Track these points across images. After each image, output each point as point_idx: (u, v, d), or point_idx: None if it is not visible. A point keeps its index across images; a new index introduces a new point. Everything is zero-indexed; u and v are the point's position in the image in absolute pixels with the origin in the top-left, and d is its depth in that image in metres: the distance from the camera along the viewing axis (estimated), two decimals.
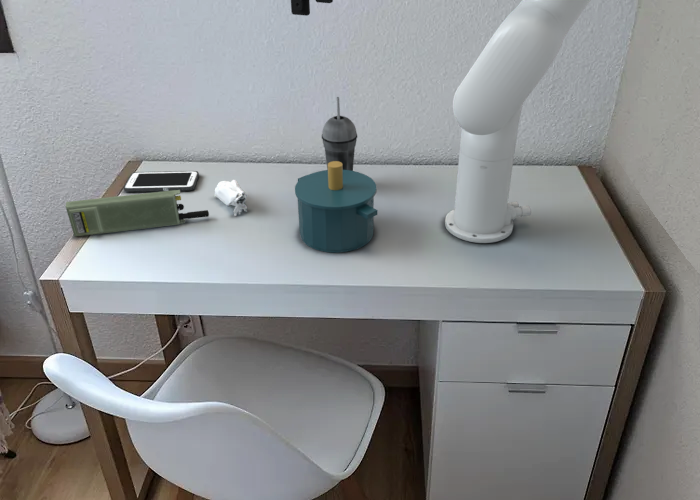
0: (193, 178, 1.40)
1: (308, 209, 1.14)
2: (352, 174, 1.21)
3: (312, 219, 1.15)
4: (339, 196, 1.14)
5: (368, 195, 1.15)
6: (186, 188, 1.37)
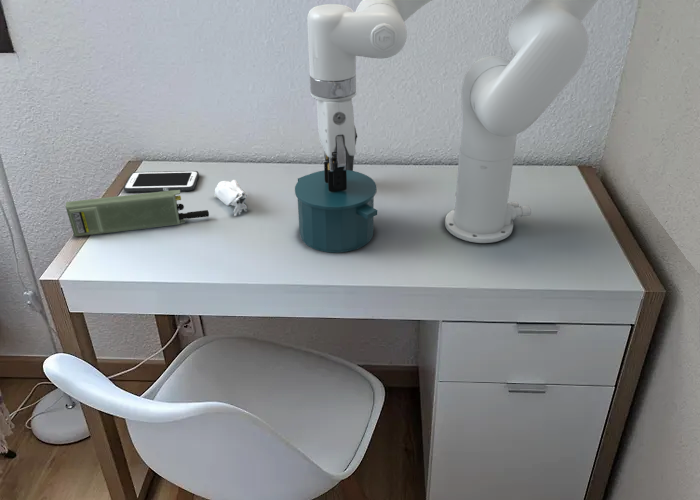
0: (193, 178, 1.40)
1: (308, 209, 1.14)
2: (352, 174, 1.21)
3: (312, 219, 1.15)
4: (339, 196, 1.14)
5: (368, 195, 1.15)
6: (186, 188, 1.37)
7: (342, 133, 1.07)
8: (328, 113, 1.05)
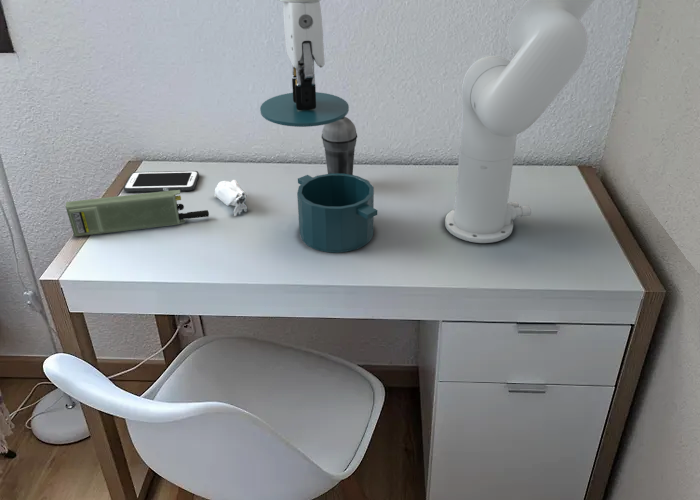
0: (193, 178, 1.40)
1: (308, 209, 1.14)
2: (323, 96, 1.13)
3: (312, 219, 1.15)
4: (307, 114, 1.05)
5: (339, 113, 1.06)
6: (186, 188, 1.37)
7: (309, 39, 0.98)
8: (293, 15, 0.96)
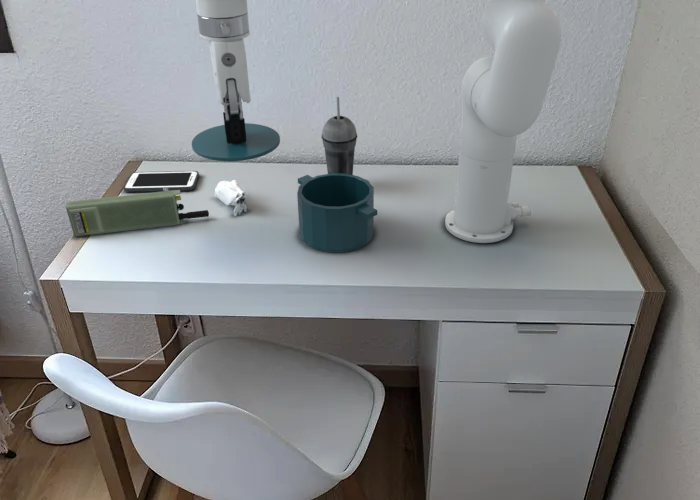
0: (193, 178, 1.40)
1: (308, 209, 1.14)
2: (257, 128, 1.14)
3: (312, 219, 1.15)
4: (237, 148, 1.07)
5: (268, 147, 1.07)
6: (186, 188, 1.37)
7: (233, 76, 0.99)
8: (216, 53, 0.97)
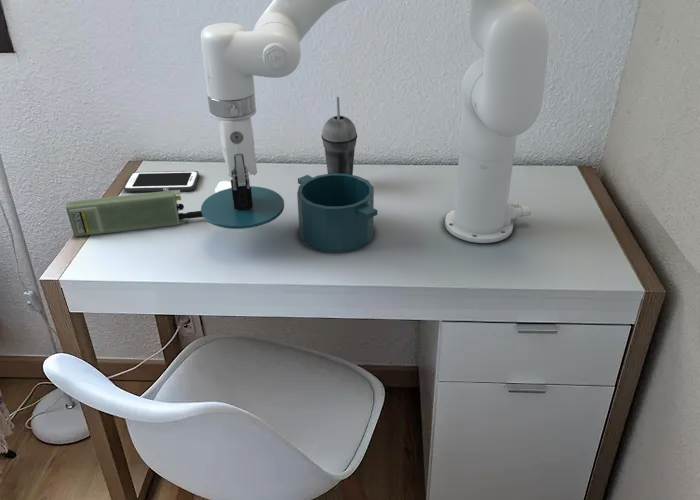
0: (193, 178, 1.40)
1: (308, 209, 1.14)
2: (262, 192, 1.20)
3: (312, 219, 1.15)
4: (244, 214, 1.13)
5: (273, 214, 1.14)
6: (186, 188, 1.37)
7: (240, 152, 1.06)
8: (225, 132, 1.04)
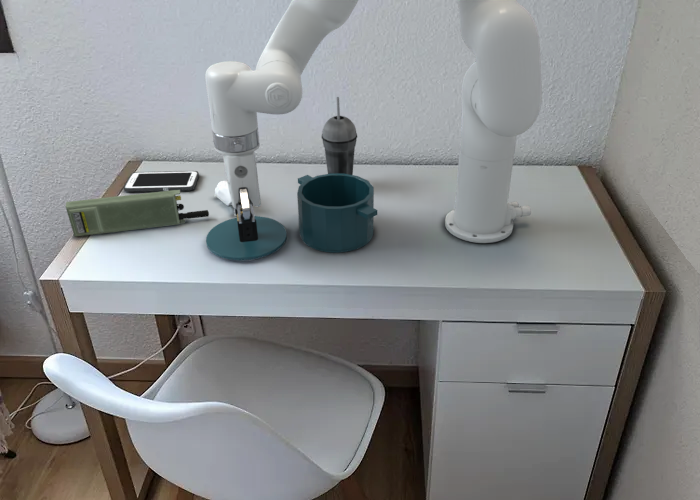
0: (193, 178, 1.40)
1: (308, 209, 1.14)
2: (265, 222, 1.24)
3: (312, 219, 1.15)
4: (248, 246, 1.17)
5: (276, 245, 1.17)
6: (186, 188, 1.37)
7: (245, 186, 1.09)
8: (229, 166, 1.07)
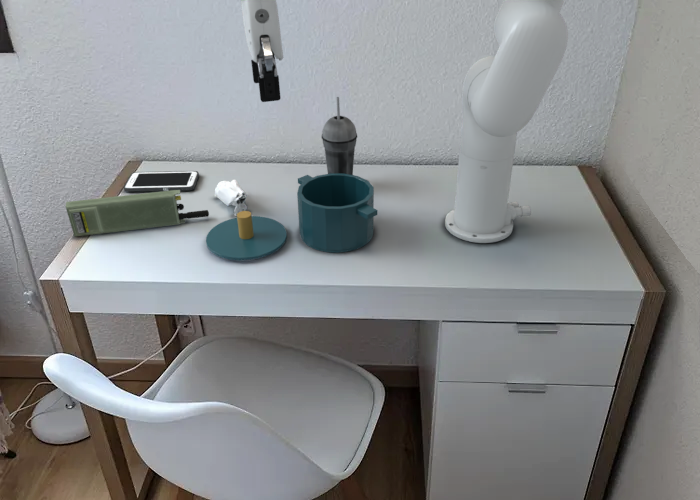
0: (193, 178, 1.40)
1: (308, 209, 1.14)
2: (265, 222, 1.24)
3: (312, 219, 1.15)
4: (248, 246, 1.17)
5: (276, 245, 1.17)
6: (186, 188, 1.37)
7: (266, 33, 1.01)
8: (249, 10, 0.99)
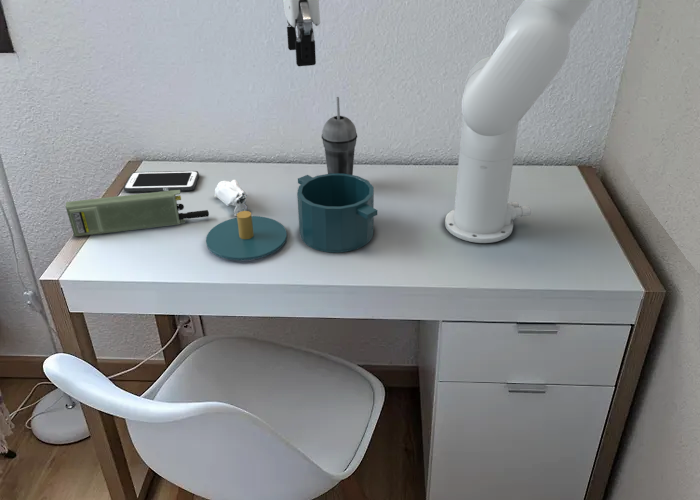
0: (193, 178, 1.40)
1: (308, 209, 1.14)
2: (265, 222, 1.24)
3: (312, 219, 1.15)
4: (248, 246, 1.17)
5: (276, 245, 1.17)
6: (186, 188, 1.37)
7: None
8: None
